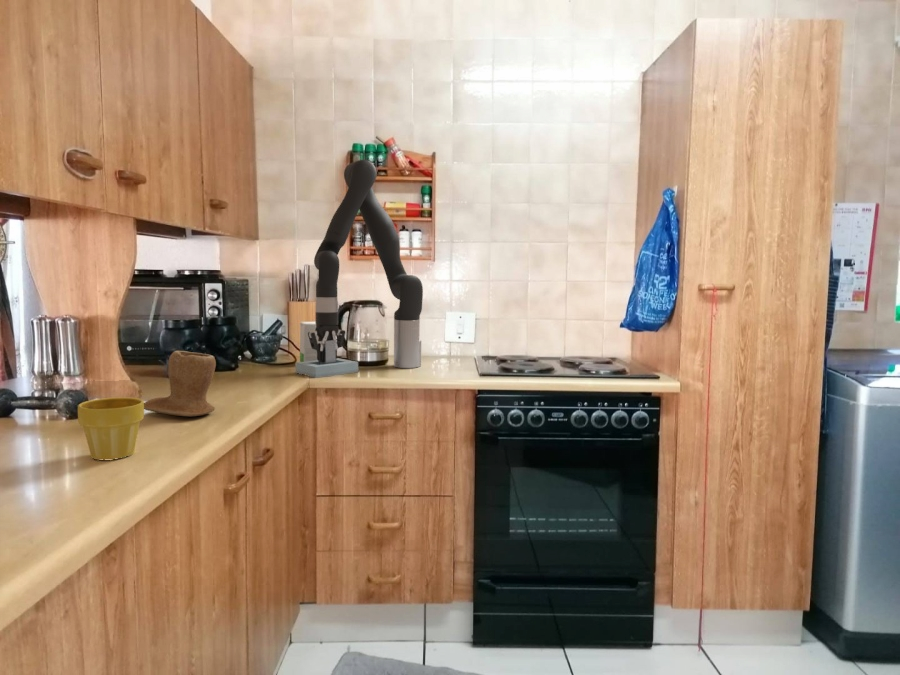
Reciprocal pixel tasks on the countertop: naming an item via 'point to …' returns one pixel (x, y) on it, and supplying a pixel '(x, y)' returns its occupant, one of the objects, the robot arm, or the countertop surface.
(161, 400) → the brown hat-shaped piece
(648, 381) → the countertop surface
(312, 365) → the well block
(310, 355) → the skincare box
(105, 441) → the plant pot
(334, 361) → the bracket
